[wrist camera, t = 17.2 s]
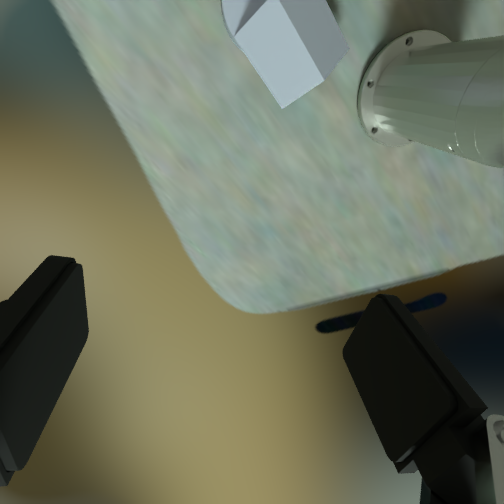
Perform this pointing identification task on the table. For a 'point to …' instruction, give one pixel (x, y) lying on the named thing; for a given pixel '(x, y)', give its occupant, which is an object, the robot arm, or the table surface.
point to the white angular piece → (286, 42)
